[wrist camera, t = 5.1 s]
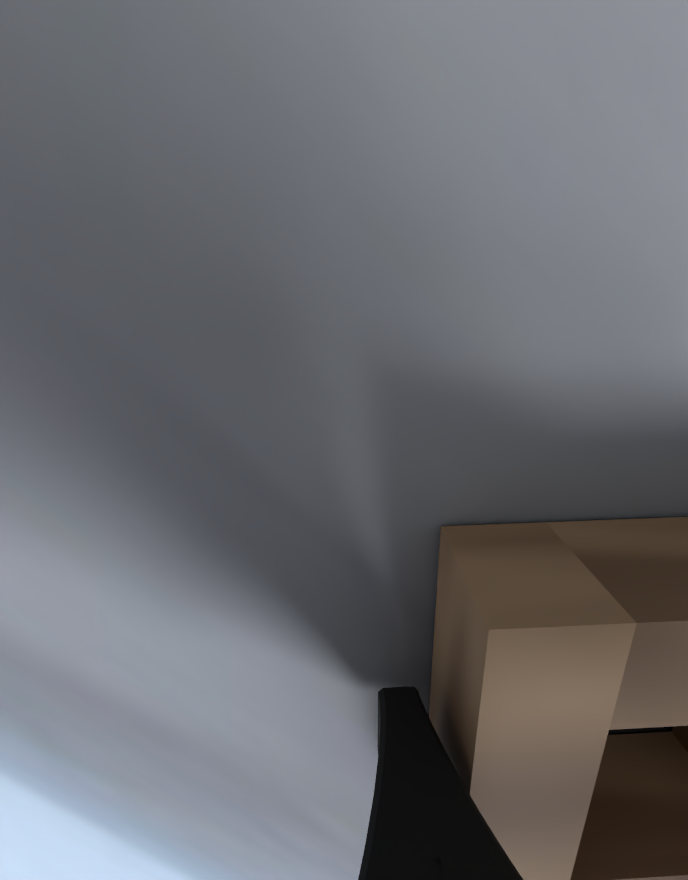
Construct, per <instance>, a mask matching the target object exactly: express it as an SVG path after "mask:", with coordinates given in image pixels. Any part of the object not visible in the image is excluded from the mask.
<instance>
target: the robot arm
mask: <svg viewBox="0 0 688 880" xmlns="http://www.w3.org/2000/svg"><path fill="white" fill-rule="evenodd" d="M358 880H523V878H522V877H521V875H520V874H519V872H518V871H517V869H516V868H515V866H514V865H513V863H512V862H511V860H510V859H509V857H508V856H507V854H506V853H505V851H504V850H503V848H502V846H501V845H500V843H499V842H498V840H497V839H496V837H495V835H494V834H493V832H492V831H491V829H490V827H489V826H488V824H487V823H486V821H485V819H484V818H483V816H482V815H481V813H480V811H479V809H478V808H477V806H476V804H475V803H474V801H473V799H472V798H471V796H470V794H469V792H468V791H467V789H466V787H465V785H464V784H463V782H462V780H461V778H460V776H459V775H458V773H457V771H456V769H455V768H454V766H453V764H452V762H451V760H450V758H449V757H448V755H447V753H446V751H445V749H444V747H443V745H442V743H441V741H440V739H439V737H438V735H437V733H436V731H435V729H434V727H433V725H432V723H431V721H430V718H429V716H428V714H427V712H426V710H425V707H424V705H423V702H422V700H421V698H420V695H419V692H418V690H417V689H416V688H414V687H394V688H383V689H381V690H380V691H379V692H378V765H377V773H376V782H375V790H374V797H373V804H372V809H371V815H370V821H369V827H368V833H367V839H366V844H365V850H364V855H363V859H362V864H361V869H360V874H359V879H358Z"/></svg>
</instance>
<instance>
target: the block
mask: <svg viewBox="0 0 688 880" xmlns="http://www.w3.org/2000/svg"><path fill="white" fill-rule="evenodd" d="M429 718H430V721H431V723H432V725H433V727H434V729H435V731H436V733H437V735H438V737H439V739H440V741H441V743H442V745H443V747H444V749H445V751H446V753H447V755H448V757H449V758H450V760H451V762H452V764H453V766H454V768H455V769H456V771H457V773H458V775H459V776H460V778H461V780H462V782H463V784H464V785H465V787H466V789H467V791H468V792H469V794H470V796H471V798H472V799H473V801H474V803H475V804H476V806H477V808H478V809H479V811H480V813H481V815H482V816H483V818H484V819H485V821H486V823H487V824H488V826H489V827H490V829H491V831H492V832H493V834H494V835H495V837H496V839H497V840H498V842H499V843H500V845H501V846H502V848H503V850H504V851H505V853H506V854H507V856H508V857H509V859H510V860H511V862H512V863H513V865H514V866H515V868H516V869H517V871H518V872H519V874H520V875H521V877H522V878H523V880H688V517H669V518H643V519H617V520H591V521H566V522H540V523H514V524H488V525H462V526H441V531H440V547H439V563H438V579H437V595H436V611H435V627H434V643H433V658H432V674H431V690H430V706H429ZM671 726H673V729H672V732H656V733H637V734H619V735H608V732H609V730H615V729H634V728H653V727H671Z"/></svg>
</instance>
